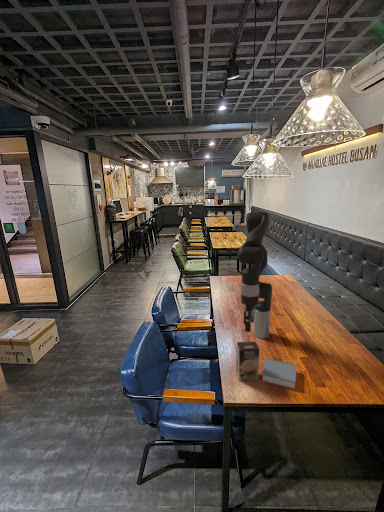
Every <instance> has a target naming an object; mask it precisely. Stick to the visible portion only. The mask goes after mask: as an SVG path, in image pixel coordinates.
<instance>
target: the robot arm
mask: <svg viewBox="0 0 384 512" xmlns="http://www.w3.org/2000/svg"><path fill="white" fill-rule="evenodd" d="M269 222H270V218H269V213H268V212H267V211H250V212H247V213H246V216H245V224H246V229H247V231H246V233H247V235H246V238H245V242H244V243H243V244H242V245H240V247H239V249H238V251H237V254H236V256H237V260H238V262H239V263H241V264H244V265H245V264H246V265H247V264H248V265H250V267H247V268H243V269H242V271H241V288H240V301H241V302H240V303H241V304H242V305H244V306H245V307H244V310H243V325H244V330H245V332H247V333H251V331H252V330H251V326H252V325H251V324H252V323H253V336H254V337H255V338H258V339H263V340H264V339H268V338H270V333H271V308H272V307H271V305H272V296H273V286H272V284H271V283H269V282H268V283H267V282H263V281H260V277H261V274H262V273H263V271H264V270H265V269H266V267H267V265H268V262H269V261H268V260H269V259H268V250H267V249H266V247H265V246H264V244H262V243H263V239H264V236H265V234H266V232H267V230H268V228H269V224H270V223H269ZM260 299H262V300H260Z"/></svg>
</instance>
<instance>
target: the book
mask: <svg viewBox="0 0 384 512" xmlns="http://www.w3.org/2000/svg"><path fill="white" fill-rule="evenodd" d="M261 375H262V378H261V381H262V382H265V383H267V384H268V383H269V384H273V385H277V386H280V387H284V388H287V389H292V390H296V383H297V364H295V363H290V362H286V361H281V360H276V359H271V358H267V357H266V358H265V360H264V365H263V369H262V373H261Z"/></svg>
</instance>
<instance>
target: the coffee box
mask: <svg viewBox="0 0 384 512" xmlns="http://www.w3.org/2000/svg"><path fill="white" fill-rule="evenodd" d="M235 357H236V361H235V362H236V363H235V364H236V365H235V367H236V368H235V372H236V376H237V379H238V380H239V381H252V380H253V381H255V380H256V381H257V380H259V369H260V368H259V367H260V365H259V364H260V347H259V345H258V343H257V342H256V341H237V342H236V356H235Z"/></svg>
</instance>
